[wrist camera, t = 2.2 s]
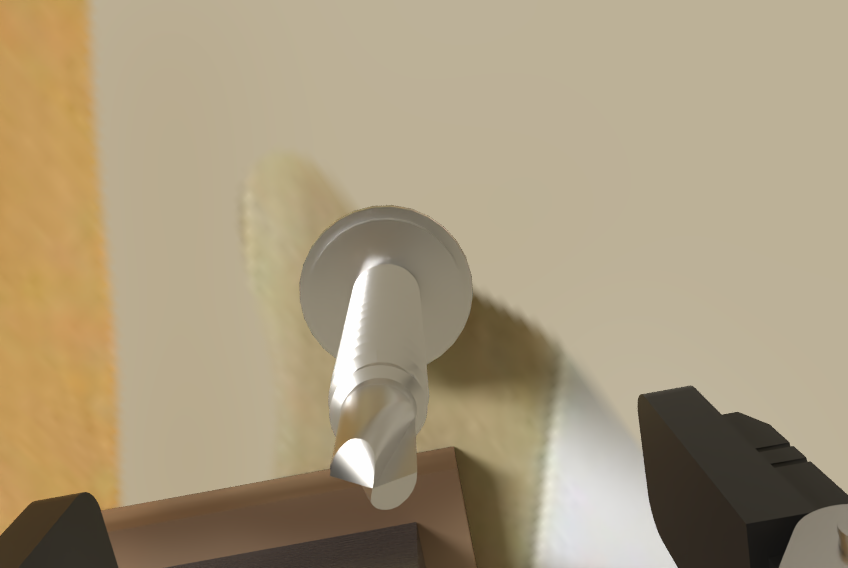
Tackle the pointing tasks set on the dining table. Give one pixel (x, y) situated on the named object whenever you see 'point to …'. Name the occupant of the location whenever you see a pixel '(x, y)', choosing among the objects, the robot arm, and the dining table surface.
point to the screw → (383, 336)
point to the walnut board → (292, 518)
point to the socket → (334, 552)
